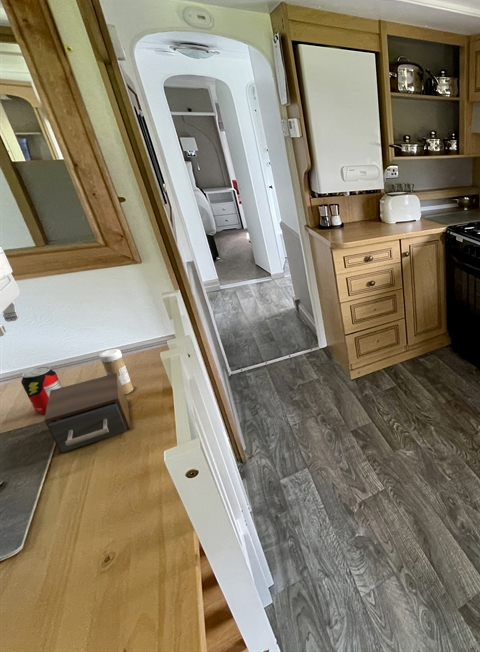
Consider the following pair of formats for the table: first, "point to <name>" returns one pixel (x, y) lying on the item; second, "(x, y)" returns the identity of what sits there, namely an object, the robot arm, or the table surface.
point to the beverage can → (40, 386)
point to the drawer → (87, 427)
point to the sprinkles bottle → (116, 368)
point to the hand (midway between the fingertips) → (6, 327)
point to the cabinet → (86, 399)
